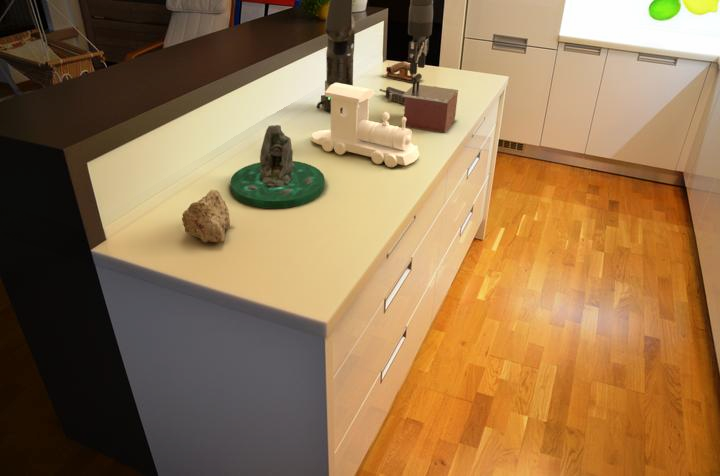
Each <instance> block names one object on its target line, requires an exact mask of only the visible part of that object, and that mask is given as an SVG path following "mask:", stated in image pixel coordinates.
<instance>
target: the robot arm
mask: <svg viewBox="0 0 720 476" xmlns="http://www.w3.org/2000/svg"><path fill="white" fill-rule="evenodd" d="M353 1H354V0H329V2H328V9H327V13H326V19H325V25H324V30H325V34H326V35H327V46H326V53H325V54H326V55H325V58H326V59H325V61H326V67H325V68H326V71H325V72H326V80H325V81H324V92H325V91H326V90H327V89H328V88H329V86H330V85H332V84H334V83H341V84H346V85H352V86H354V55H355V54H354V53H355V35H356V23H355V22H356V21H355V18H354V15H353ZM408 9H409V10H408V23H407V34H408V35H409V36H411V37H412V40H411V41H408V51H407V62H408V63H409V64H410V71H409V75H410V74H414V75H415V74H416V75H417V74H418V68H420V69H424V68H425V66H426V57H427V54H428V53H429V45H430V44H429V43H430V36H432V33H433V19H434V0H410V4H409V8H408ZM321 106H322V107H323V109H325V110H327V111H328V113H331V98H330V97H326V96H325V94H324V95H323V94H322V95H320V101H319V102H318V103H317V104H316V108H317V110H320V109H321ZM342 110H343V107H342V108H341V109H340V113H341V114H342Z"/></svg>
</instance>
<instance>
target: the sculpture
mask: <svg viewBox="0 0 720 476" xmlns="http://www.w3.org/2000/svg"><path fill="white" fill-rule="evenodd" d="M388 65H390V62H389V63H388ZM385 71H386V74H385V75H383V76H382V77H383V78H388V79H392V80H398V81H403V82H407V83H412V82H411V79H412V78H413V77H414V76H415V75H417V74H415V75H414V74H410V73H409V72H410V62H408V61H400V62H398V63H394V64H392V65H390V66H386V70H385ZM421 81H423V80H422V79H420V80H419V82H421ZM415 84H417V82H416V83H415Z"/></svg>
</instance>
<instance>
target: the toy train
mask: <svg viewBox="0 0 720 476" xmlns="http://www.w3.org/2000/svg"><path fill="white" fill-rule="evenodd" d="M375 93H376V91H375V90H374V89H371V88H366V87H363V86H362V87H361V86H356V85H353V86H352V85H346V84H341V83H334V84H332V85H330V86H329V88H328V89H327V90H326V91H325V90H324V95H325V96H326V97H330V98H331V112H330V130H329V129H322V130H316V131H314V132H313V133H311V137H310V138H311V141H312V142H313V143H315V144H317V145H320V146H321V148H322V149H323V150H324V151H325V152H327V153H329V152H332V151H333V150H334V152H335V154H337V155H339V156H341V155H344V154H345V153H346V152H347V153H353V154H357V155H361V156H364V157H368V158H371V161H372V162H373V164H375V165H381V164H382V163H383V162H384V164H385V166H387V167H388V168H394V167H396V166H397V165H401V166H408V165H410V164H413V163H414V162H416V161H417V159H418V158H419V156H420V150H419V148H418V145H414V144H413V143H412V141H413V131H412V130H411V129H410V128H407V127H406V126H405V123H406V120H407V119H406V117H404V116H403V117H402V118H401V127H400V126H397V125H391V124H390V122H388V121H389V120H390V113H389V112H387V111H384V112H383V113H382V114H381V119H382V120H383V121H382V122H375V121H372V120H369V109H370V107H369V105H370V104H369V103H370V98H371V97H373V96H375ZM358 106H359V108H358ZM342 107H343V110H342V113H340V109H341V108H342Z"/></svg>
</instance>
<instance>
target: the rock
mask: <svg viewBox="0 0 720 476" xmlns="http://www.w3.org/2000/svg"><path fill="white" fill-rule="evenodd" d="M229 211H230V210H229V207H228V206H227V204H226V200H224V198H223V197H222V195H221V194H220V191H218V190H216V189H211V190H210V191H208V192H207V193H206V195H205V196H202V197H201V199H199V200H198V201H196V202H192V203H191V204H189V206H188V208H187V209H186V210H184V211H183V213H182V215H181V216H182V217H181V222H182V225H183V228H184V232H185V233H187V234H189V235H192V236H193V237H195V238H197V239H200V240H201V241H202V242H203V243H209V242H211V243H219V242H220V243H224V241H225V240H226V235H225V233H226V230H227V229H229V228H230V226H231V225H230V223H231V221H230V219H231V218H230V213H229Z"/></svg>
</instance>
